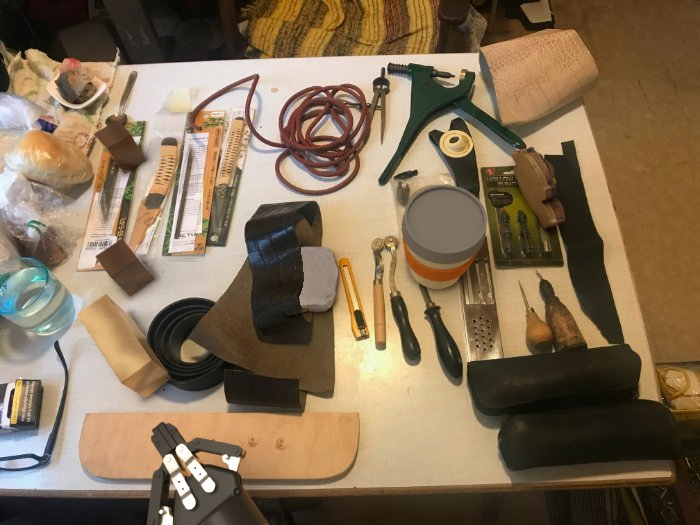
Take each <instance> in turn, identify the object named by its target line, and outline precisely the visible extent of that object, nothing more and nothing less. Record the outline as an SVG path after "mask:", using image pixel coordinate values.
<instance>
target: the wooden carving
mask: <svg viewBox="0 0 700 525" xmlns="http://www.w3.org/2000/svg"><path fill="white" fill-rule="evenodd" d="M511 157H512V158H511V159H512V160H513V162H514V164H515V166H513V167H512V169H513V172H514V176H515V178H516V182H517V184H518V187H519V189H520V191H521V193H522V195H523V198H524V199H525V201H526V203H527V205H528V207H529V208H530V210H531V211H532V212H533V213H534V214H535V215H536V216H537V219H538V221H539V223H540V225H541V227H542V229H544V230H547V229H549V228H552V227H555V226H561V225H562V224H565V222H566V216H565V215H566V214H565V210H564V207H563V205H562V203H561V201H560V200H559V199H558V198H556V196H557V186H556V185H557V180H556V178H555V175H556V174H555V168H554V165H553V164H552V163H551V162H549V160H547V159H545V158H544V156H543V154H542V153H540V152H538V151H537V150H536V149H535V147H533V146H529V147H528V148H521V149H518V150H513V151H512V152H511Z"/></svg>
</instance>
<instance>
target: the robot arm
mask: <svg viewBox="0 0 700 525" xmlns="http://www.w3.org/2000/svg"><path fill="white" fill-rule="evenodd" d="M151 433H152V434H151V436H150V441H151V443H152V444H153V446H154V447H155V449H156V451H157V452H158V453H159V455H160V456H161V458H162V462H161V464H160V466H159V467H158V469H155V470H154V471H153V473H152V479H151V485H150V494H149V502H148V510H147V519H146V525H270V523H269V522H268V520H267V519H266V518H265V516H264V515H263V513H262V512H261V511H260V509H259V508H258V506H257V505H256V503H255V502H254V501H253V499H252V498H251V497H250V495H249V494H248V492H247V491H246V489H245V488H244V485H243V479H242V475H241V473H240V472H239V470H240V467H241V464H242V460H243V459H245V457H246V455H247V451H246V450H245V449H244V448H243V447H242V446H240V445H237V444H232V443H227V442H223V441H217V440H212V439H207V438H204V437H203V438H202V437H194V438H193V440H190V441H186V439H185V438H184V436H183V434H181V432H180V431H179V429H178V427H176V426H175V425H174V424H172V423H170V422H167V423H166V422H164V421H161V422H160V423H158V424H157V425H155V427H153V428H152V429H151ZM200 452H202V453H207V454H212V455H217V456H222V459H221V460H222V462H223V463H225V464H227V466H228V468H227V467H223V466H220V465H217V464H216V465H215V464H211V463H205V462H204V461H203V460H202V459H201V458H200V457H199V455H198V454H199V453H200ZM186 468H187V469H186ZM187 470H188V471H189V472H190V473H189V472H188V471H187ZM171 482H172V484H173V486H174V488H175V490H174V493H173V494H174V496H173V508H171V507H170V506H169V496H170V488H171Z"/></svg>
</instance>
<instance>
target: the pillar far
mask: <svg viewBox="0 0 700 525" xmlns="http://www.w3.org/2000/svg"><path fill="white" fill-rule="evenodd" d="M94 136H95V137H96V138H97V140H98V141H99V142H100V144H101V145H102V147H103V148H104V149H105V151H106V153H107V154H108V155H109V157H110V158H111V160H112V161H113V162H114V163H115V165H116V166H117V167H118V168H119V170H120V171H122V173H123V174H124V175H126V174H128V173H130V172H131V171H133V170H134V169H136V168H138V167H139V166H140V165H142V164H144V163H145V162H147V159H146V157H145V155H144V154H143V152H142V150H141V149H140V147H139V146H138V143H137V142H136V141H135V139H134V137H133V136H132V134H131V132H129V131H128V129H126V127H125V126H124V125H123V124H122V122H120V121H119V119H116V120H115V121H113V122H112V123H109V124H108V125H106V126H104V127H103V128H101V129H100V130H98V131H96V132H94Z"/></svg>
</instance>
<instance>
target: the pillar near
mask: <svg viewBox="0 0 700 525" xmlns="http://www.w3.org/2000/svg"><path fill="white" fill-rule="evenodd" d="M95 258H96V260H97V261H98V263H99V264H100V265H101V267H102V268H103V269H104V271H105V272H106V273H107V275H108V276H109V278H110V279H112V280H113V281H114V282H115V284H116V285H117V286H119V288H121V290H123V291H124V292H125V293H126V294H127V295H128V296H129V297H132V296H133V295H135V294H136V293H138V292H139V291H140V290H142V289H143V288H145V287H146V286H149V284H151V283H152V282H154V281H155V280H156V278H155V277H154V275H153V274H152V273H151V272H150V270H149V269H148V267H147V266H146V265H145V264H144V262H143V261H142V259H141V258H139V256H138V255H137V254H136V253H135V252H134V251H133V249H132V248H131V247H130V246H129V245H128V243H127V242H126V241H125V240H124V239H123V238H121V239H119V240H117V241H116V242H115V243H113V244H111V245H110V246H109V247H107V248H106V249H103V250H102V251H101V252H100V253H98V254H96V255H95Z"/></svg>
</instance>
